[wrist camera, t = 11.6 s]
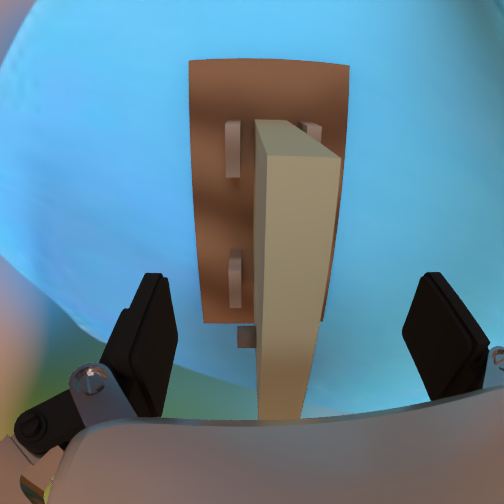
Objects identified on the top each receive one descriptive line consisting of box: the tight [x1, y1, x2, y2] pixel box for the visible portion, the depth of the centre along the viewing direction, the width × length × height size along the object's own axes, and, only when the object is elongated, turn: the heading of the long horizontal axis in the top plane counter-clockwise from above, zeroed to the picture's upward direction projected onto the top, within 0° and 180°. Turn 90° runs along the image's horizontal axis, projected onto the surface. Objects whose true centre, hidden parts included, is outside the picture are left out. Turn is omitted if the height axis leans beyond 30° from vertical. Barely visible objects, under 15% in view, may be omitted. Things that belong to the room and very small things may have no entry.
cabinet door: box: [237, 119, 341, 420], centre depth 16 cm, size 12×3×12 cm, turn 0°
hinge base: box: [189, 58, 350, 323], centre depth 21 cm, size 20×10×4 cm, turn 0°
